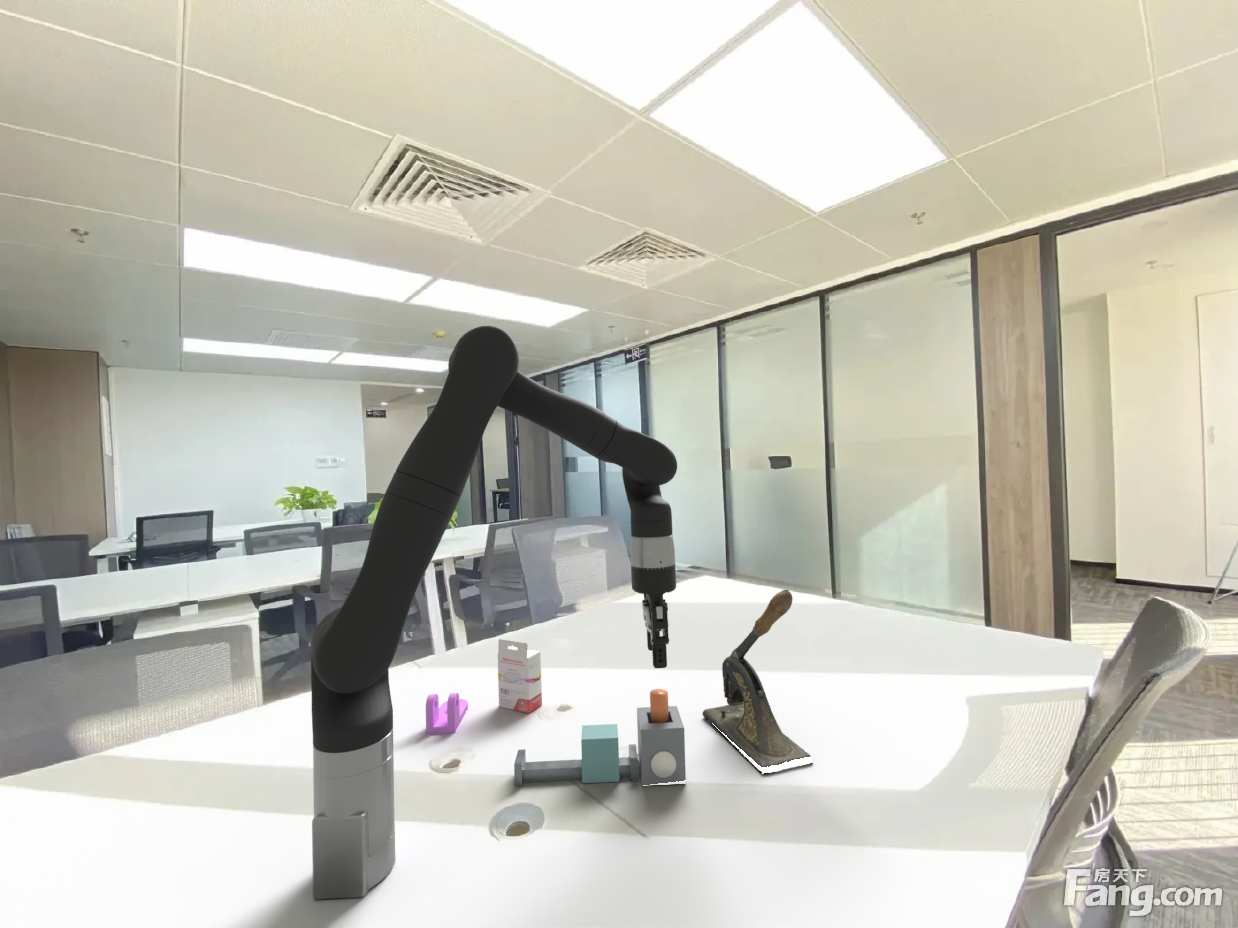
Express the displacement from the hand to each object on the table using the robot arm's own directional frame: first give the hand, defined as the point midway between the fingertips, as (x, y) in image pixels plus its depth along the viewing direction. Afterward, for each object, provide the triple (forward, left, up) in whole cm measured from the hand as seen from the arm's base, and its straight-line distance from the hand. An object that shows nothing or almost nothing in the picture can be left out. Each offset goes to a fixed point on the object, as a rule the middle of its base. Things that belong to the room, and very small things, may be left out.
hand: (656, 658), depth 89 cm
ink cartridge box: (+28, +27, -19) cm, 43 cm away
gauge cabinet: (0, 0, -19) cm, 19 cm away
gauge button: (0, 0, -10) cm, 10 cm away
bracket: (+23, +41, -19) cm, 51 cm away
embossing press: (+9, -19, -19) cm, 28 cm away
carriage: (0, +10, -19) cm, 21 cm away
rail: (0, +14, -19) cm, 23 cm away
